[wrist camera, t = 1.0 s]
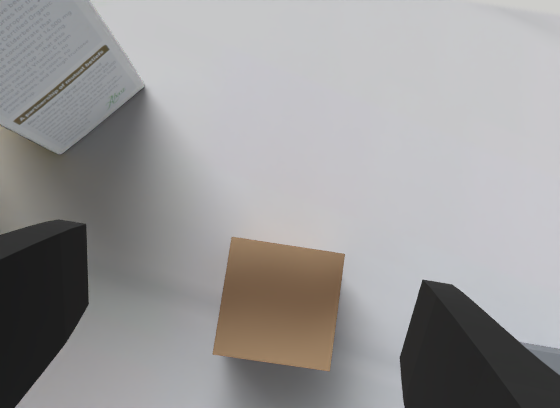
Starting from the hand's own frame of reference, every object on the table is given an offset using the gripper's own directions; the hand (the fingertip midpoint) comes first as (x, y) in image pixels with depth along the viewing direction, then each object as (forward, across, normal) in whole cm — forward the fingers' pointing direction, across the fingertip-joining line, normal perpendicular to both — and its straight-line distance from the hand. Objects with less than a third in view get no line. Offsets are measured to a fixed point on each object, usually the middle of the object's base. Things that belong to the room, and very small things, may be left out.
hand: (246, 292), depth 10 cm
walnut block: (+11, 0, +7) cm, 13 cm away
